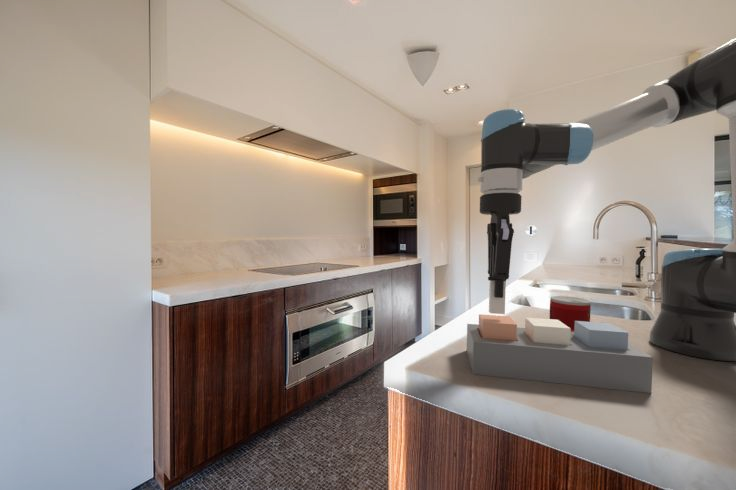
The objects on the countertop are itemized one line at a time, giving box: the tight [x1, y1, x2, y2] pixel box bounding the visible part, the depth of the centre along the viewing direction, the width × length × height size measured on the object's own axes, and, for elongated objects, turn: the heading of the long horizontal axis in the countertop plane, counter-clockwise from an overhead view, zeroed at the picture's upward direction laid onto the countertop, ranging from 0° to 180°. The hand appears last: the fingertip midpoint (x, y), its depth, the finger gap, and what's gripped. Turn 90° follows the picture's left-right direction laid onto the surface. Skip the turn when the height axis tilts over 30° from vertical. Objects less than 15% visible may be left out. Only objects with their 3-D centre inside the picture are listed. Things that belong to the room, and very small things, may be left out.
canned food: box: [549, 295, 591, 332], centre depth 73 cm, size 8×8×11 cm
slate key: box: [574, 321, 629, 350], centre depth 57 cm, size 6×6×5 cm
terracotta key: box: [478, 314, 518, 341], centre depth 61 cm, size 6×6×5 cm
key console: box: [466, 323, 654, 394], centre depth 59 cm, size 28×12×6 cm, turn 77°
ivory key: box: [524, 317, 571, 345], centre depth 59 cm, size 6×6×5 cm
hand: (496, 312), depth 61 cm, fingers closed
